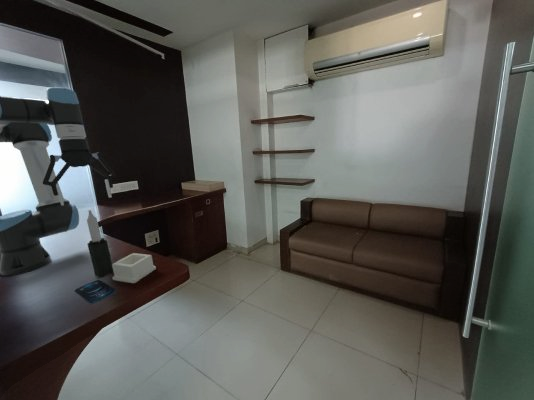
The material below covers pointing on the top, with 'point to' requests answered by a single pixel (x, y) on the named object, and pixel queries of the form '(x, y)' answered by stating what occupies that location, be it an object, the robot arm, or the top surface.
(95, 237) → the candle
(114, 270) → the socket
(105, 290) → the smartphone
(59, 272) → the top surface
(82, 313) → the top surface
